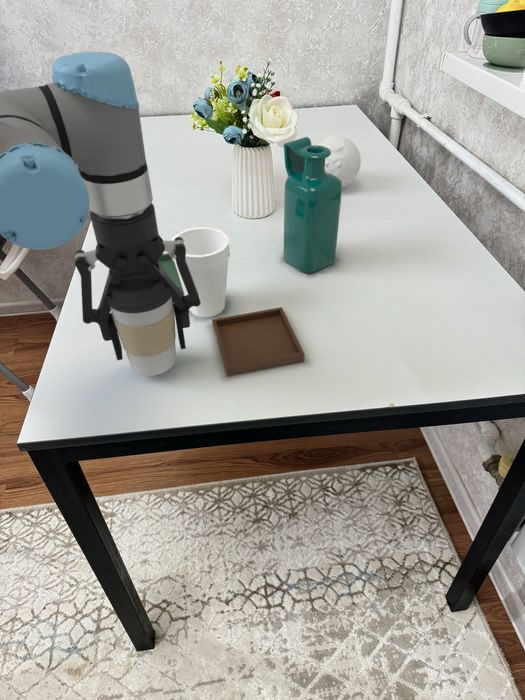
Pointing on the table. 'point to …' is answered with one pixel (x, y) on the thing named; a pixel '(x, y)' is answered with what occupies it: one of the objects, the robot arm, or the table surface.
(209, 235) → the foam cup
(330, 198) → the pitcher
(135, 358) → the coffee cup
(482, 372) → the table surface
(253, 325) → the walnut tray
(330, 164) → the decorative ball
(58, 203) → the robot arm
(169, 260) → the sage tray
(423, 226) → the table surface
